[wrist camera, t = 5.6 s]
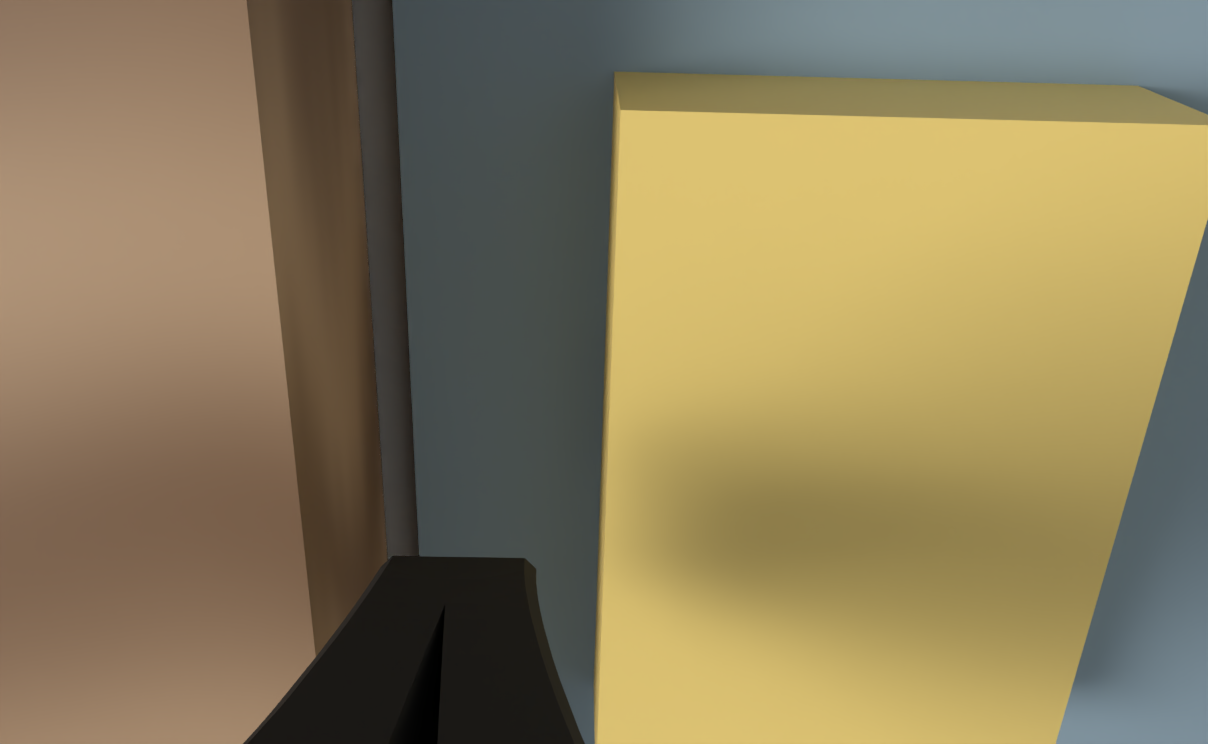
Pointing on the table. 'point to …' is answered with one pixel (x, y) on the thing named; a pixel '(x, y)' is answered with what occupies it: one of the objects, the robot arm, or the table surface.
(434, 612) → the robot arm
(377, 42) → the table surface
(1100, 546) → the flat yellow block
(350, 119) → the brown wooden block
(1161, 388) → the mat
